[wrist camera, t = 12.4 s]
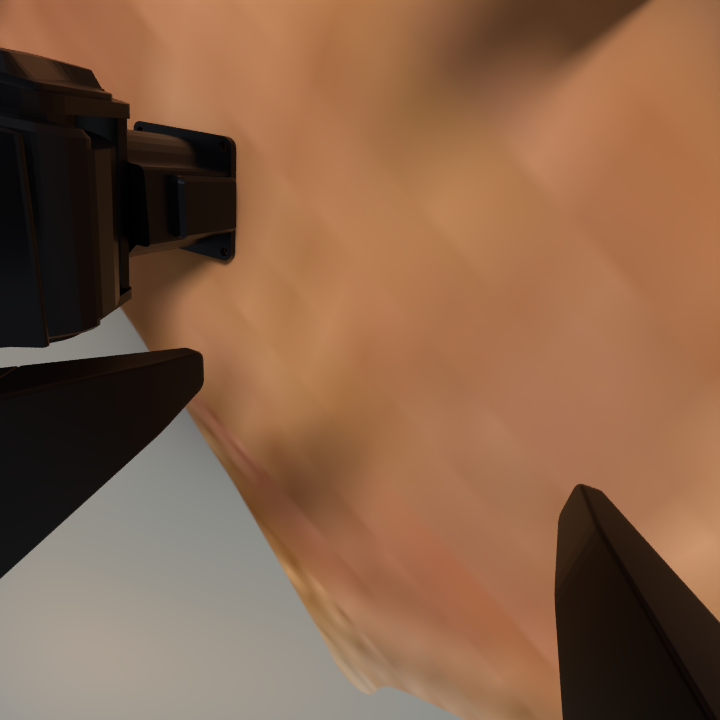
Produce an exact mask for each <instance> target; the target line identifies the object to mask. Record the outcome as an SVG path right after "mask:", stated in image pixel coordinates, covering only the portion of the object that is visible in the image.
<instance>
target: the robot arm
mask: <svg viewBox="0 0 720 720" xmlns="http://www.w3.org/2000/svg"><path fill="white" fill-rule="evenodd" d="M127 119H130V104H128V103H125V102H122V101H120V100H117V99H114V98H112V94H111V93H108V92H106V91H104V89H102V88H101V86H100V85H99V83H98V81H97V79H96V78H95V76H94V74H93V72H92V71H91V70H89V69H86V68H83V67H80V66H76V65H72V64H69V63H65V62H61V61H57V60H54V59H50V58H46V57H42V56H38V55H34V54H30V53H26V52H21V51H15V50H10V49H5V48H0V348H2V347H35V348H37V347H38V348H44V347H47V346H49V343H52V342H57V341H62V340H66V339H69V338H72V337H75V336H77V335H79V334H80V333H83V332H86V331H89V330H92V329H94V328H95V327H97V326H99V325H100V320H101V319H103V318H104V317H105V316H107V315H108V314H110V313H111V312H112V311H114V310H115V309H117V308H118V307H120V306H121V305H123V304H124V303H125V302H127V301H128V300H130V299H131V298H132V288H131V287H130V286H129V257H132V256H137V255H142V254H148V253H153V252H158V251H164V250H169V249H174V248H180V249H184V250H188V251H191V252H195V253H199V254H203V255H206V256H210V257H214V258H217V259H221V260H229V259H232V258H233V257H234V255H235V228H236V145H235V142H234V141H233V140H232V138H230V137H226V136H221V135H215V134H209V133H204V132H198V131H193V130H187V129H181V128H176V127H170V126H164V125H159V124H153V123H148V122H142V121H137V122H136V123H135V125H134V130H128V129H127ZM143 129H144V132H143ZM225 143H226V144H227V147H228V148H227V151H225V149H224V145H225ZM225 248H226V250H227V254H226V253H225V251H224V249H225ZM203 382H204V369H203V356H202V354H201V353H200V352H198V351H195V350H192V349H189V348H179V349H170V350H161V351H152V352H144V353H134V354H124V355H115V356H106V357H97V358H88V359H78V360H69V361H60V362H51V363H42V364H33V365H24V366H20V367H17V366H14V367H5V368H0V578H2V577H3V576H4V575H5V574H6V573H7V572H8V571H9V570H10V569H12V568H13V567H14V566H15V565H16V564H17V563H18V562H19V561H20V560H21V559H23V558H24V557H25V556H26V555H27V554H28V553H29V552H30V551H31V550H33V549H34V548H35V547H36V546H37V545H38V544H39V543H40V542H41V541H42V540H44V539H45V538H46V537H47V536H48V535H49V534H50V533H51V532H52V531H53V530H55V529H56V528H57V527H58V526H59V525H60V524H61V523H62V522H63V521H64V520H65V519H67V518H68V517H69V516H70V515H71V514H72V513H73V512H74V511H75V510H77V509H78V508H79V507H80V506H81V505H82V504H83V503H84V502H85V501H87V500H88V499H89V498H90V497H91V496H92V495H93V494H94V493H95V492H96V491H97V490H99V489H100V488H101V487H102V486H103V485H104V484H105V483H106V482H107V481H108V480H110V479H111V478H112V477H113V476H114V475H115V474H116V473H117V472H118V471H120V470H121V469H122V468H123V467H124V466H125V465H126V464H127V463H128V462H129V461H131V460H132V459H133V458H134V457H135V456H136V455H137V454H138V453H139V452H140V451H142V450H143V449H144V448H145V447H146V446H147V445H148V444H149V443H150V442H151V441H153V440H154V439H155V438H156V437H157V436H158V435H159V434H160V433H161V432H162V431H163V430H164V429H165V428H166V427H167V426H168V425H169V424H170V423H171V421H172V420H173V419H174V418H175V417H176V416H177V415H178V413H180V412H181V410H182V409H183V408H184V407H185V406H186V405H187V404H188V403H189V402H190V401H191V399H192V398H193V397H194V396H195V395H196V394H197V393H198V392H199V391H200V389H201V388H202V386H203ZM555 614H556V628H557V643H558V657H559V672H560V686H561V701H562V715H563V720H720V622H719V621H718V620H717V619H716V618H715V617H714V615H713V614H712V613H711V612H710V611H709V610H708V609H707V608H706V607H705V605H704V604H703V603H702V602H701V601H700V600H699V599H698V598H697V597H696V595H695V594H694V593H693V592H692V591H691V590H690V589H689V588H688V586H687V585H686V584H685V583H684V582H683V581H682V580H681V579H680V578H679V576H678V575H677V574H676V573H675V572H674V571H673V570H672V569H671V568H670V566H669V565H668V564H667V563H666V562H665V561H664V560H663V559H662V558H661V556H660V555H659V554H658V553H657V552H656V551H655V550H654V549H653V548H652V546H651V545H650V544H649V543H648V542H647V541H646V540H645V539H644V538H643V536H642V535H641V534H640V533H639V532H638V531H637V530H636V529H635V528H634V526H633V525H632V524H631V523H630V522H629V521H628V520H627V519H626V518H625V516H624V515H623V514H622V513H621V512H620V511H619V510H618V509H617V508H616V506H615V505H614V504H613V503H612V502H611V501H610V500H609V499H608V498H607V496H606V495H605V494H604V493H603V492H602V491H600V490H599V489H596V488H593V487H590V486H587V485H584V484H578V485H576V486H575V488H574V489H573V491H572V493H571V495H570V496H569V498H568V500H567V502H566V504H565V506H564V507H563V509H562V511H561V513H560V516H559V521H558V535H557V553H556V571H555Z"/></svg>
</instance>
